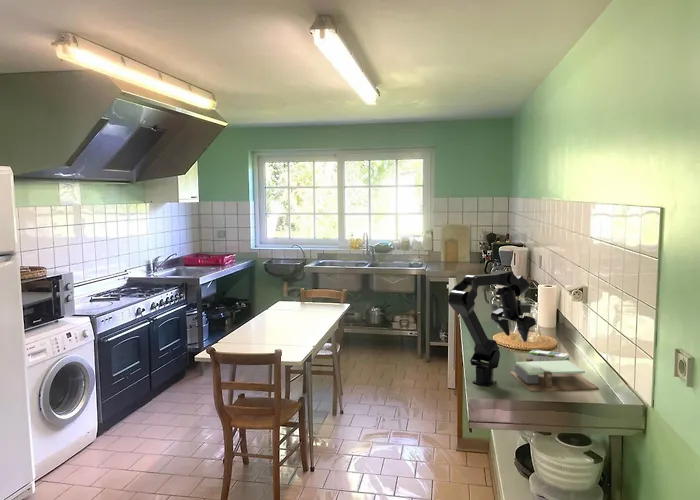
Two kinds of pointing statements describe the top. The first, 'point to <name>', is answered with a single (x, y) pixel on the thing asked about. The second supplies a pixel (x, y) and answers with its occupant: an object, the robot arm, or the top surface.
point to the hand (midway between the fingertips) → (516, 338)
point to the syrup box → (547, 356)
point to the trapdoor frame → (556, 382)
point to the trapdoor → (544, 369)
